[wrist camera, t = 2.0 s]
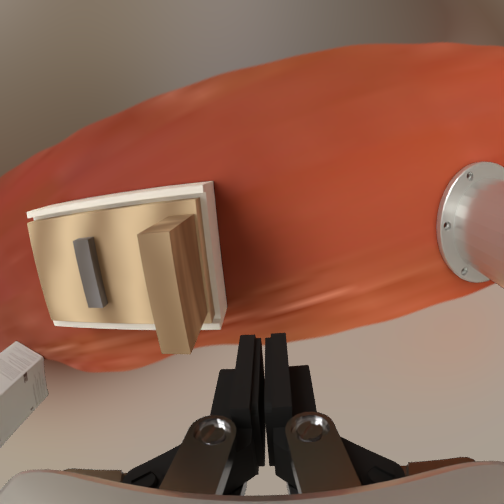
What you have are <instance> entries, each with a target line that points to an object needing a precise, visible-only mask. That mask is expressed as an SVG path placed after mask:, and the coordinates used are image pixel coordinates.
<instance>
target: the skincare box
mask: <svg viewBox="0 0 504 504" xmlns="http://www.w3.org/2000/svg"><path fill="white" fill-rule="evenodd" d="M47 396H48V389H47V385H46V379H45V371H44V358H43V356H41V355H39V354H38V353H36V352H34V351H32V350H31V349H29V348H27V347H26V346H24V345H22V344H21V343H19V342H17V341H16V342H14V343H13V344H12V345H10V346H9V347H8V348H7V349H5V350H4V351H3V352H1V353H0V448H1V447H2V445H4V443H5V442H6V441H7V440H8V439H9V438H10V436H11V435H12V434H13V433H14V432H15V431H16V430H17V429H18V427H19V426H20V425H21V424H22V423H23V422H24V421H25V420H26V419H27V418H28V417H29V415H30V414H31V413H32V412H33V411H34V410H35V409H36V408H37V407H38V406H39V404H40V403H41V402H42V401H43V400H44V399H45V398H46V397H47Z"/></svg>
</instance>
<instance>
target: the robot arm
mask: <svg viewBox="0 0 504 504" xmlns="http://www.w3.org/2000/svg"><path fill="white" fill-rule="evenodd" d="M444 224H445V225H444ZM436 230H437V241H438V245H439V250H440V253H441V255H442V257H443V260H444V261H445V263H446V264H447V266H448V267H449V269H450V270H451V271H453V272H454V273H455V274H456V275H457V276H459V277H460V278H462V279H464V280H466V281H469V282H475V283H479V282H485V281H488V280H492V281H493V282H495V283H496V284H498V285H499V286H501V287H502V288H504V167H502V166H500V165H498V164H496V163H492V162H476V163H472V164H470V165H468V166H465V167H464V168H463V169H461V170H460V171H459V172H458V173H456V175H455V176H454V177H453V178H452V180H451V181H450V182H449V184H448V186H447V188H446V189H445V191H444V194H443V196H442V199H441V202H440V205H439V210H438V214H437V225H436ZM265 427H266V433H267V444H268V454H269V465H270V466H275V473H276V475H277V476H278V477H280V478H281V479H283V480H284V481H286V482H287V490H288V494H289V495H270V496H244V495H245V491H246V488H247V481H248V480H250V479H251V478H252V477H254V476H255V475H258V471H259V466H265ZM0 504H504V462H500V461H475V460H474V459H471V458H468V457H457V458H450V459H442V460H432V461H422V462H408V464H407V465H406V466H400V465H399V464H397V463H396V462H394V461H392V460H389V459H387V458H385V457H382V456H380V455H378V454H376V453H374V452H371V451H369V450H367V449H365V448H363V447H361V446H359V445H356V444H354V443H352V442H350V441H348V440H346V439H344V438H342V437H340V435H339V433H338V431H337V429H336V426H335V424H334V422H333V421H332V419H331V418H330V417H328V416H327V415H325V414H322V413H319V412H317V411H316V405H315V399H314V393H313V388H312V382H311V376H310V370H309V366H308V365H302V366H289V365H288V355H287V343H286V333H275V334H271V338H265V378H264V367H263V355H262V343H261V338H256V337H255V335H241V336H240V341H239V347H238V355H237V361H236V367H235V369H221V370H220V372H219V377H218V381H217V386H216V391H215V395H214V400H213V404H212V410H211V414H210V416H205V417H202V418H200V419H198V420H196V421H195V422H193V424H192V425H191V426H190V427H189V429H188V431H187V433H186V435H185V437H184V439H183V441H182V443H181V445H179V446H177V447H175V448H173V449H171V450H169V451H167V452H166V453H164V454H162V455H160V456H158V457H156V458H154V459H152V460H150V461H148V462H146V463H144V464H142V465H139V466H137V467H135V468H133V469H132V470H130V471H129V472H128V473H123V472H122V470H93V469H76V468H72V469H66V470H63V471H61V470H49V469H44V470H27V471H23V472H20V473H18V474H16V475H15V476H13V477H12V478H11V479H10V480H8V482H7V483H6V484H5V485H4V486H3V487H2V489H1V490H0Z"/></svg>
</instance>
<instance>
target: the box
mask: <svg viewBox="0 0 504 504" xmlns="http://www.w3.org/2000/svg"><path fill="white" fill-rule="evenodd" d="M198 197H200V202H201V211H202V219H203V228H204V236H205V244H206V252H207V260H208V268H209V275H210V283H211V290H212V297H213V304H214V311H215V316H214V319H213V321H212V323H208V324H203V325H202V328H201V330H221V327H222V323H223V320H224V317H225V313H226V310H227V300H226V292H225V284H224V275H223V267H222V259H221V250H220V241H219V232H218V223H217V213H216V204H215V194H214V184H213V181H207V182H198V183H189V184H180V185H172V186H164V187H156V188H149V189H142V190H135V191H128V192H121V193H115V194H109V195H103V196H97V197H91V198H85V199H79V200H74V201H68V202H63V203H58V204H53V205H49V206H46V207H42V208H39V209H35V210H32V211H29V212H27V217H28V218H31V217H33V218H34V221H35V220H38V219H44V218H50V217H56V216H62V215H68V214H74V213H80V212H87V211H93V210H100V209H107V208H114V207H121V206H129V205H136V204H144V203H152V202H161V201H170V200H179V199H188V198H198ZM53 322H54V325H55V326H66V327H82V328H102V329H130V330H156V328H155V324H124V323H93V322H71V321H54V320H53Z"/></svg>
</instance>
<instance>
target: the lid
mask: <svg viewBox="0 0 504 504" xmlns="http://www.w3.org/2000/svg"><path fill="white" fill-rule="evenodd" d="M27 225H28V230H29V236H30V241H31V245H32V250H33V255H34V259H35V263H36V267H37V271H38V275H39V279H40V283H41V287H42V290H43V294H44V297H45V301H46V304H47V307H48V310H49V313H50V317H51V320H54V321H71V322H93V323H124V324H155V328H156V332H157V336H158V340H159V344H160V348H161V352H162V354H191V352H192V350H193V347H194V345H195V342H196V340H197V337H198V335H199V333H200V330H201V328H202V325H203V324H208V323H212V321H213V319H214V316H215V311H214V304H213V297H212V290H211V283H210V275H209V268H208V260H207V252H206V244H205V236H204V228H203V219H202V211H201V202H200V197H198V198H188V199H179V200H170V201H161V202H152V203H144V204H136V205H129V206H121V207H114V208H107V209H100V210H93V211H87V212H80V213H74V214H68V215H62V216H56V217H50V218H44V219H38V220H35V221H32V222H29V223H27Z"/></svg>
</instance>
